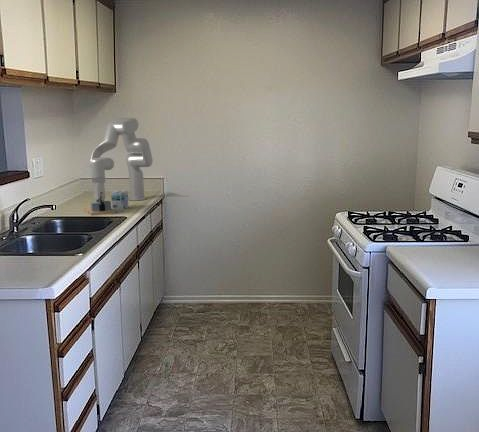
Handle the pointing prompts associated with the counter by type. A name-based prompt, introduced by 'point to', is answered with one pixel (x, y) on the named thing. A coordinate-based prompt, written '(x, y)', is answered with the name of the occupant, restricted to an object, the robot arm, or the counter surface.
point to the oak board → (88, 210)
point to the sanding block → (96, 206)
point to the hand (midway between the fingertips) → (101, 209)
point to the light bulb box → (119, 200)
